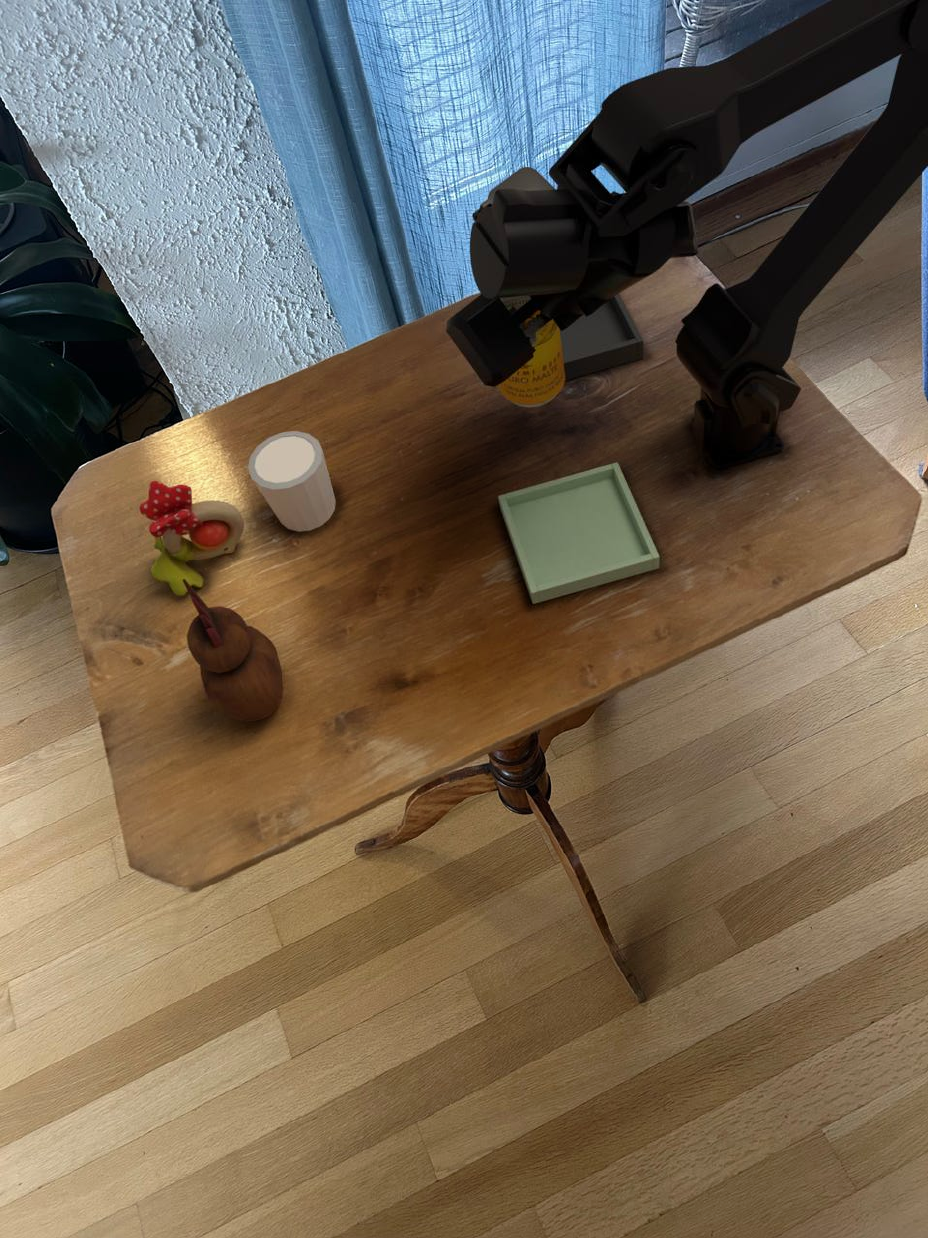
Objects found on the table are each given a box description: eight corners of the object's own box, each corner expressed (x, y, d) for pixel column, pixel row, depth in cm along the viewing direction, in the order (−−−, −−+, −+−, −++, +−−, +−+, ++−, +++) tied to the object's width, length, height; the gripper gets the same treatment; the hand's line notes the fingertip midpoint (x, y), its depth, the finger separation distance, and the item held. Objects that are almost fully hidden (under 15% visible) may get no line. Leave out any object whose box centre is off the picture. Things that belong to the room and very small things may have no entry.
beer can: (507, 418, 90) (482, 284, 77) (494, 373, 93) (468, 237, 81) (572, 401, 90) (557, 264, 77) (557, 357, 93) (540, 218, 81)
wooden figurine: (227, 667, 85) (156, 566, 73) (292, 657, 85) (231, 554, 72) (223, 737, 82) (147, 644, 69) (291, 727, 81) (227, 631, 69)
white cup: (331, 539, 91) (310, 490, 86) (262, 534, 93) (237, 486, 87) (350, 482, 95) (331, 431, 89) (283, 478, 96) (260, 428, 91)
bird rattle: (226, 540, 96) (131, 558, 92) (232, 449, 88) (129, 464, 84) (249, 584, 93) (152, 605, 88) (257, 494, 85) (151, 511, 81)
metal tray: (611, 294, 104) (610, 276, 102) (643, 358, 98) (643, 340, 96) (508, 324, 104) (505, 306, 102) (534, 389, 98) (532, 371, 96)
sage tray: (617, 474, 90) (617, 461, 89) (659, 568, 84) (659, 556, 83) (500, 507, 90) (497, 495, 89) (532, 604, 84) (531, 593, 83)
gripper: (624, 92, 72) (533, 178, 86) (438, 230, 67) (374, 297, 81) (707, 224, 75) (605, 286, 89) (534, 367, 70) (455, 408, 84)
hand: (512, 316), depth 86 cm, fingers closed on beer can, 6 cm apart
